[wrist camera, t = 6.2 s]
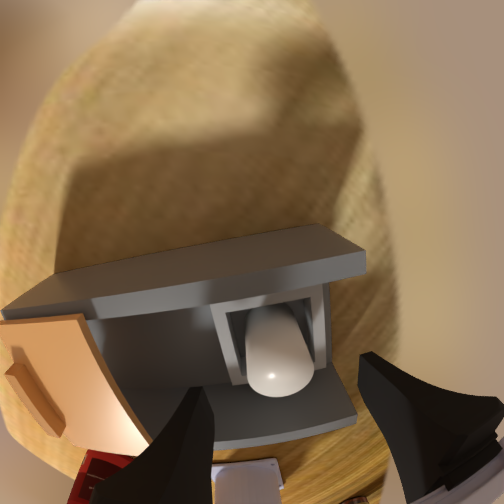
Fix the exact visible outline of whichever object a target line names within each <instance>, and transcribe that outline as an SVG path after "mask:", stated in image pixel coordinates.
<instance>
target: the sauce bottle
mask: <svg viewBox="0 0 504 504" xmlns="http://www.w3.org/2000/svg"><path fill="white" fill-rule="evenodd" d="M341 504H369V502H368V501H367V498H366V497H357V498H354V499H350V500H347V501H345V502H343V503H341Z"/></svg>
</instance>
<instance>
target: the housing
mask: <svg viewBox="0 0 504 504" xmlns="http://www.w3.org/2000/svg"><path fill="white" fill-rule="evenodd" d="M363 274H366V250H364V249H362V248H361V247H359V246H357V245H356V244H354V243H352V242H351V241H349V240H347V239H345V238H344V237H342V236H340V235H339V234H337V233H335V232H333V231H331V230H330V229H328V228H326V227H324V226H323V225H321V224H319V223H318V224H312V225H306V226H300V227H294V228H289V229H283V230H277V231H271V232H266V233H260V234H254V235H249V236H243V237H238V238H232V239H227V240H221V241H216V242H210V243H205V244H200V245H194V246H189V247H184V248H179V249H173V250H168V251H163V252H158V253H153V254H148V255H143V256H138V257H133V258H128V259H123V260H118V261H113V262H108V263H103V264H98V265H94V266H89V267H84V268H79V269H75V270H70V271H65V272H61V273H56V274H53V275H51V276H50V277H48V278H47V279H45V280H44V281H42V282H40V283H39V284H37V285H36V286H34V287H33V288H31V289H30V290H29V291H27V292H26V293H24V294H23V295H21V296H20V297H18V298H17V299H16V300H14V301H13V302H11V303H10V304H9V305H7V306H6V307H4V308H3V309H2V310H0V311H1V313H2V316H3V318H4V320H16V319H29V318H40V317H51V316H61V315H71V314H80V313H83V315H84V317H85V320H86V322H87V325H88V327H89V329H90V332H91V334H92V336H93V338H94V340H95V343H96V345H97V347H98V349H99V351H100V353H101V355H102V357H103V359H104V361H105V363H106V365H107V367H108V369H109V371H110V373H111V375H112V376H113V378H114V380H115V382H116V384H117V385H118V387H119V389H120V391H121V392H122V394H123V396H124V397H125V399H126V401H127V402H128V404H129V406H130V407H131V409H132V410H133V412H134V413H135V415H136V417H137V418H138V420H139V421H140V423H141V424H142V426H143V427H144V428H145V430H146V431H147V433H148V434H149V436H150V437H151V438H152V440H154V439H155V438H156V437H157V436H158V435H159V433H160V432H161V431H162V429H163V428H164V427H165V425H166V424H167V423H168V421H169V420H170V418H171V417H172V415H173V414H174V412H175V411H176V409H177V407H178V406H179V404H180V403H181V401H182V399H183V397H184V396H185V394H186V392H187V391H188V389H189V388H190V387H199V386H203V388H204V391H205V393H206V396H207V398H208V401H209V403H210V405H211V408H212V410H213V413H214V421H215V438H214V449H213V450H227V449H238V448H247V447H255V446H262V445H269V444H275V443H281V442H286V441H291V440H296V439H301V438H305V437H310V436H314V435H318V434H322V433H326V432H329V431H333V430H336V429H340V428H343V427H347V426H350V425H353V424H356V422H357V415H358V414H357V412H356V410H355V408H354V406H353V404H352V402H351V400H350V398H349V396H348V394H347V392H346V390H345V387H344V385H343V383H342V381H341V379H340V377H339V375H338V373H337V371H336V369H335V368H334V366H333V364H332V336H331V310H330V292H329V282H332V281H337V280H341V279H346V278H350V277H355V276H359V275H363ZM277 303H284V304H286V305H287V306H289V307H290V308H291V310H292V311H293V313H294V316H295V318H296V321H297V323H298V326H299V328H300V331H301V333H302V336H303V338H304V341H305V343H306V346H307V349H308V351H309V354H310V356H311V359H312V361H313V364H314V374H313V376H312V378H311V380H310V382H309V383H308V384H307V385H306V386H305V387H304V388H303V389H301V390H300V391H298V392H296V393H294V394H291V395H288V396H283V397H269V396H265V395H262V394H260V393H258V392H256V391H255V390H254V389H253V388H252V387H251V386H250V384H249V382H248V379H247V363H246V345H245V326H244V322H245V317H246V315H247V313H248V312H249V310H250V309H251V308H256V307H261V306H266V305H272V304H277Z"/></svg>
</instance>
